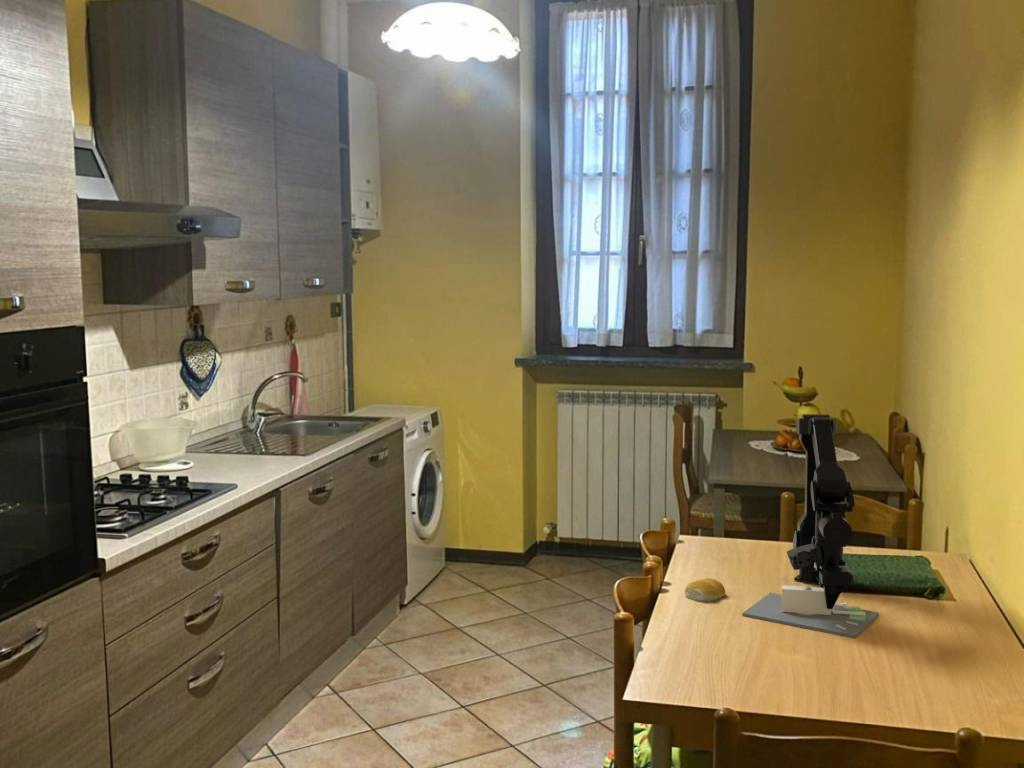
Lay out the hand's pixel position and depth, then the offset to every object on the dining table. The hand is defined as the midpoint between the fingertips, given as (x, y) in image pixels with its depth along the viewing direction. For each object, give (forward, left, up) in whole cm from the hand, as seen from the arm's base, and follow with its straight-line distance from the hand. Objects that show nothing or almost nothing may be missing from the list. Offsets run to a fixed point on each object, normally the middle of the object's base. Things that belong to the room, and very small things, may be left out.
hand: (827, 606), depth 215 cm
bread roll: (+2, -27, -3) cm, 28 cm away
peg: (0, -1, -1) cm, 2 cm away
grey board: (+1, -3, -2) cm, 4 cm away
